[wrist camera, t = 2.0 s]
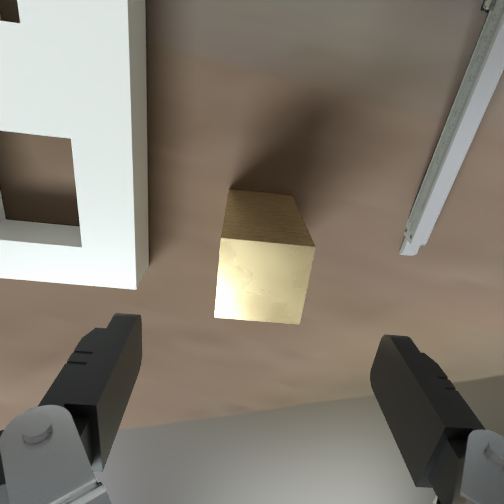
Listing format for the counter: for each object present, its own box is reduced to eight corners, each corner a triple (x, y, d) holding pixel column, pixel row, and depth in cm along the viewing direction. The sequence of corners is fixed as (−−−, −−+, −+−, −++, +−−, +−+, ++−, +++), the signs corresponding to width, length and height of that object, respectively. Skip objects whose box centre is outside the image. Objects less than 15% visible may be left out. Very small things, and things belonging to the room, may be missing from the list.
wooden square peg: (292, 195, 22) (315, 247, 15) (282, 252, 24) (299, 324, 16) (228, 188, 22) (220, 238, 14) (224, 247, 23) (214, 317, 16)
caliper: (510, -162, 16) (664, -309, 10) (533, -159, 16) (700, -304, 10) (397, 252, 24) (444, 302, 18) (412, 253, 24) (464, 303, 18)
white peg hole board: (143, -130, 16) (121, -177, 13) (148, 266, 24) (136, 289, 21) (-143, -176, 15) (-230, -236, 12) (-35, 250, 23) (-72, 271, 20)
